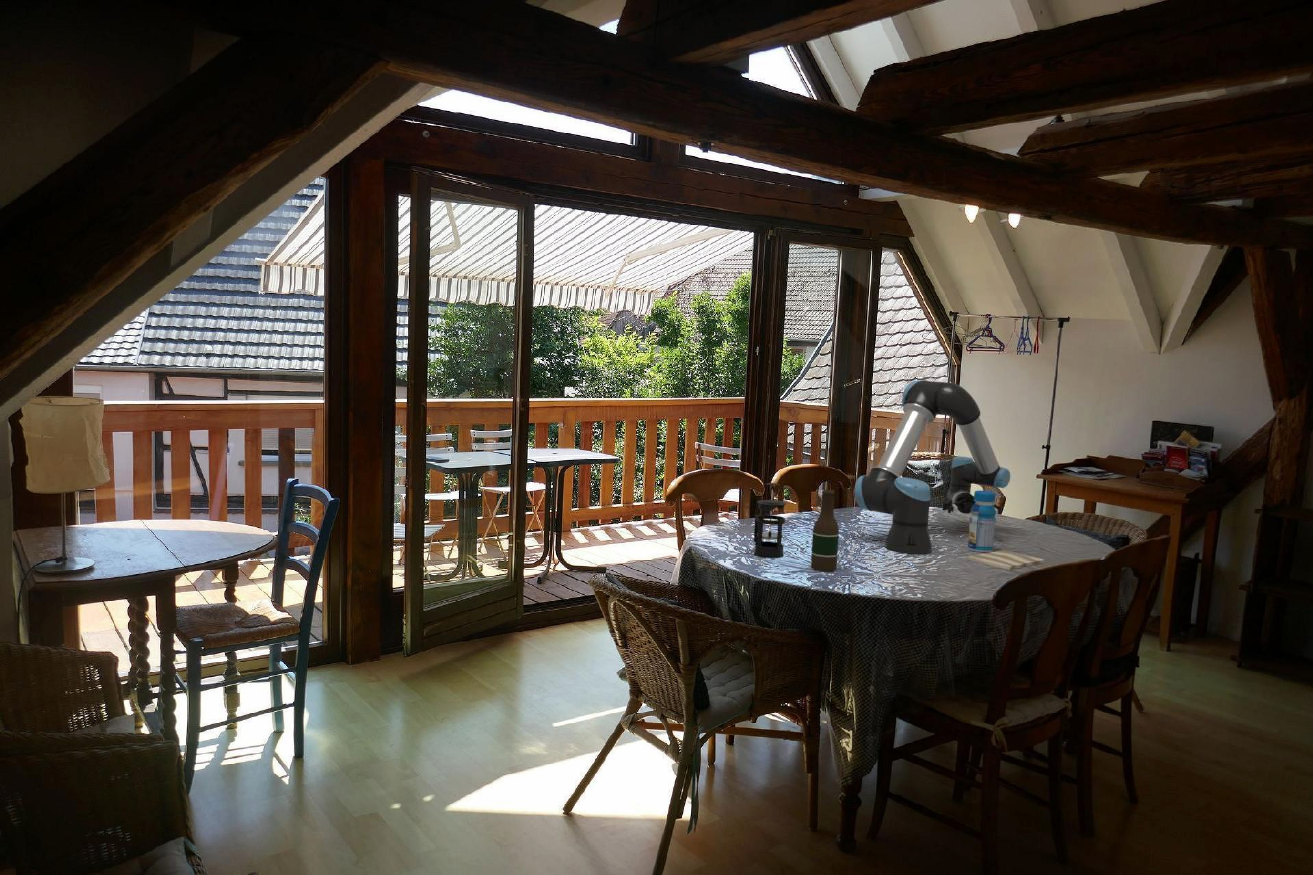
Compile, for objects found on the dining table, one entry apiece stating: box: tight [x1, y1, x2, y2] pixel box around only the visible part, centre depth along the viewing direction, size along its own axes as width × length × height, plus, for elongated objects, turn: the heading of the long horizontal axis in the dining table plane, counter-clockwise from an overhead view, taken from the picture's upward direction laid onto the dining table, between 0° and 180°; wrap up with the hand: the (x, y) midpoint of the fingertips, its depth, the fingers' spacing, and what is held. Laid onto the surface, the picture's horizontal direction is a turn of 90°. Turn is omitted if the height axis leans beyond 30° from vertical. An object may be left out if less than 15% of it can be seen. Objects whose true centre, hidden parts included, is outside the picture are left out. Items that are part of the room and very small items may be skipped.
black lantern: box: [753, 482, 787, 559], centre depth 303 cm, size 12×9×23 cm
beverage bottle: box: [967, 490, 997, 553], centre depth 323 cm, size 8×8×20 cm
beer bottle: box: [810, 489, 840, 573], centre depth 287 cm, size 8×8×24 cm
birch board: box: [966, 550, 1045, 571], centre depth 309 cm, size 20×15×1 cm
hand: (976, 512), depth 334 cm, fingers open, 13 cm apart
